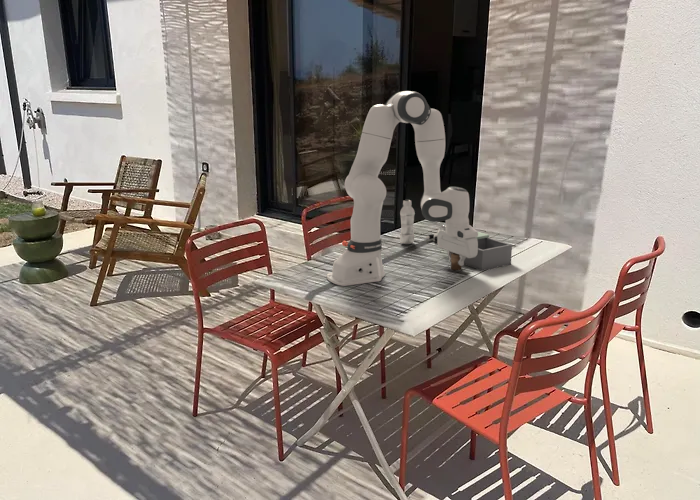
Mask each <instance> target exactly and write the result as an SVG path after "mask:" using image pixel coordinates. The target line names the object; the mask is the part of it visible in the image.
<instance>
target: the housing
mask: <svg viewBox="0 0 700 500" xmlns="http://www.w3.org/2000/svg"><path fill="white" fill-rule="evenodd" d="M477 241H478V253H477V256H476V257H474V258H467V257H466V258H465V260H464V265H465V266H469V267H471V268H474V269H476V270H479V271H481V272H483V271H488V270H491V269H495V268H496V269H497V268H500V267H504V266H509V265H512V256H513V255H512V254H513V253H512V252H513V251H512V250H513V245H512V244H510V243H508V242H504V241H501V240H497V239H494V238H492V237H488V238H482V239H477Z"/></svg>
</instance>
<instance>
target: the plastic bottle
mask: <svg viewBox="0 0 700 500" xmlns="http://www.w3.org/2000/svg"><path fill="white" fill-rule="evenodd" d="M415 212H416V211H415V209H414V208H413V206H412V200H410V199H405V200H402V207H401V209H400V212H399V214H400V225H401V227H400V236H399V241H400V243H401V244H402V245H411V244H414V242H415V239H416V238H415V233H414V221H415V214H416V213H415Z"/></svg>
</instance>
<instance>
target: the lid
mask: <svg viewBox="0 0 700 500" xmlns="http://www.w3.org/2000/svg"><path fill="white" fill-rule="evenodd" d="M476 231H477V232H478V236H477V237H476V238H477V239H482V238H490V234H488V233H484V232H480V231H478V230H476ZM438 234H439V233H438Z"/></svg>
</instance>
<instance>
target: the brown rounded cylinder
mask: <svg viewBox="0 0 700 500" xmlns="http://www.w3.org/2000/svg"><path fill="white" fill-rule="evenodd" d="M459 260H460V255H459V254H456V253H451V262H450V270H452V271H461V270H462V266H460V265H458V261H459Z"/></svg>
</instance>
